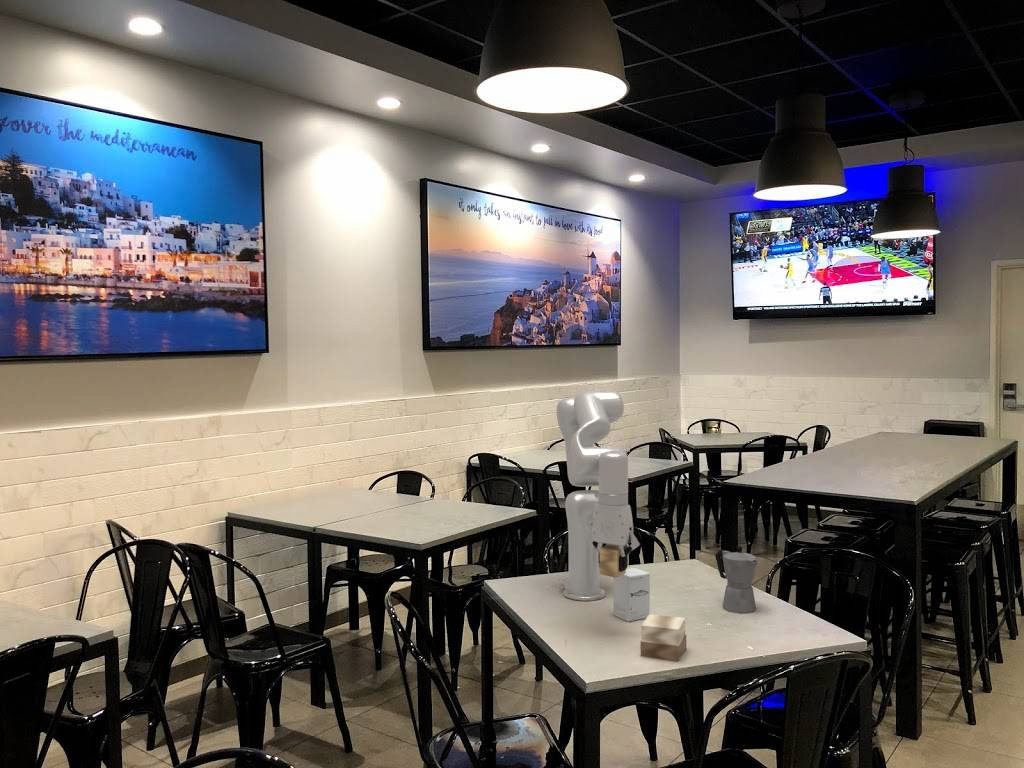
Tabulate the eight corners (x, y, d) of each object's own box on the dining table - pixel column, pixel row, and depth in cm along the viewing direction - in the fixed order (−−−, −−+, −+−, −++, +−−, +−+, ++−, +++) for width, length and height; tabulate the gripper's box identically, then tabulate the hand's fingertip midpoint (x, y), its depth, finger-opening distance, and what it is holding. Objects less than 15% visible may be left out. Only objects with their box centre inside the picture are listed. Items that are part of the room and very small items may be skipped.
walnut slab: (640, 657, 202) (640, 641, 202) (650, 645, 210) (650, 629, 210) (677, 663, 198) (677, 646, 198) (686, 650, 206) (686, 634, 206)
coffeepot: (768, 611, 235) (769, 548, 235) (746, 617, 230) (746, 553, 229) (727, 598, 248) (727, 538, 247) (704, 603, 243) (704, 542, 242)
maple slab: (641, 641, 202) (641, 625, 201) (649, 629, 210) (649, 614, 210) (678, 646, 198) (678, 629, 198) (685, 634, 207) (685, 618, 206)
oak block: (599, 574, 216) (599, 547, 216) (608, 569, 220) (609, 543, 220) (616, 577, 213) (616, 550, 213) (625, 573, 217) (626, 546, 217)
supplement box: (628, 622, 227) (628, 576, 226) (612, 614, 233) (612, 570, 233) (650, 618, 230) (650, 572, 230) (634, 610, 237) (634, 566, 236)
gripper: (577, 498, 217) (577, 566, 219) (636, 505, 208) (635, 577, 209) (591, 493, 224) (591, 560, 225) (649, 500, 214) (649, 570, 215)
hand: (612, 568), depth 217 cm, fingers closed on oak block, 5 cm apart
